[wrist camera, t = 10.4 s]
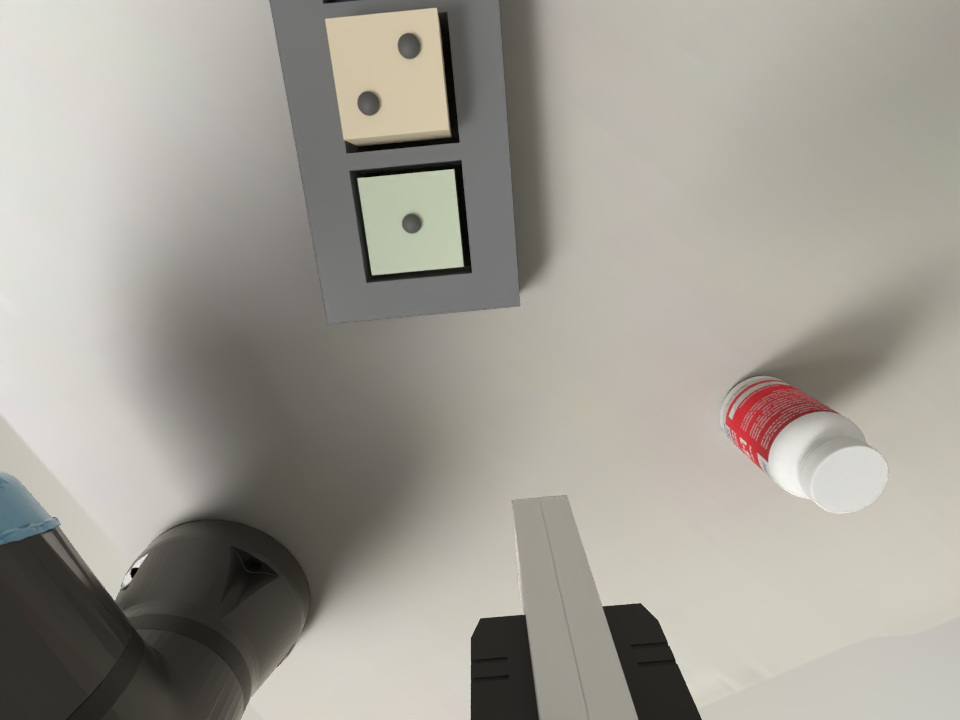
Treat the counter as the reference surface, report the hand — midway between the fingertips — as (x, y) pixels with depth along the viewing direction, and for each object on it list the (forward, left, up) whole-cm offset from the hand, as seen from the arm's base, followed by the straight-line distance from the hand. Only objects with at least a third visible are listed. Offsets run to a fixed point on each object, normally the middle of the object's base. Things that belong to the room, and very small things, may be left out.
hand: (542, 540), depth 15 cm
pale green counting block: (-5, +8, -26) cm, 28 cm away
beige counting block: (-5, +16, -24) cm, 29 cm away
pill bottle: (+20, -9, -27) cm, 34 cm away
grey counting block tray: (-5, +16, -26) cm, 31 cm away
